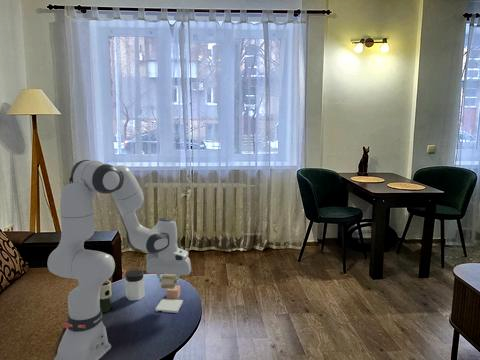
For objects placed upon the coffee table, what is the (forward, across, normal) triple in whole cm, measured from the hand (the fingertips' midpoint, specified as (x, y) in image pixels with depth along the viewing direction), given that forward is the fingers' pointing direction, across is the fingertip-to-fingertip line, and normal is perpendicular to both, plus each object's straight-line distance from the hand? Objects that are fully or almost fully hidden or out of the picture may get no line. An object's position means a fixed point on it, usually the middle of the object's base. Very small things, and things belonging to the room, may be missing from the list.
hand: (169, 282), depth 185 cm
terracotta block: (+12, -1, +10) cm, 16 cm away
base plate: (+12, 0, 0) cm, 12 cm away
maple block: (+2, 0, 0) cm, 2 cm away
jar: (+12, -19, +7) cm, 24 cm away
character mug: (+12, -28, -7) cm, 31 cm away
